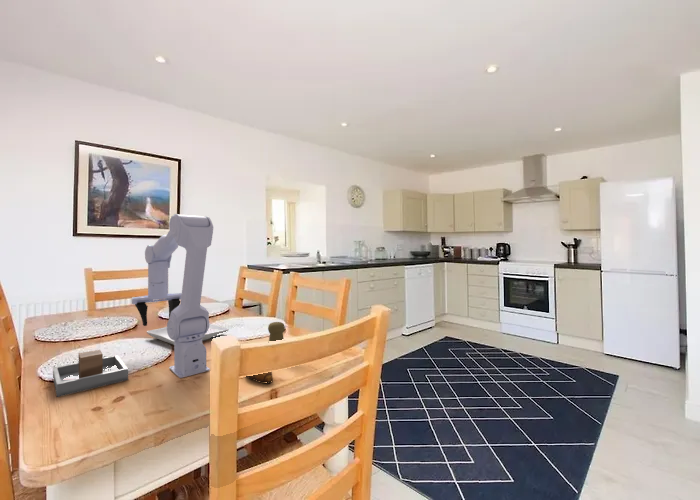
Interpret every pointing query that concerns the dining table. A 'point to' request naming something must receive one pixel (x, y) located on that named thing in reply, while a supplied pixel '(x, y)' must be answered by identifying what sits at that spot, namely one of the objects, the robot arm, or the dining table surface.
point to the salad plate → (164, 337)
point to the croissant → (262, 377)
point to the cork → (276, 331)
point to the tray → (91, 381)
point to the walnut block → (90, 363)
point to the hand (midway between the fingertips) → (158, 323)
